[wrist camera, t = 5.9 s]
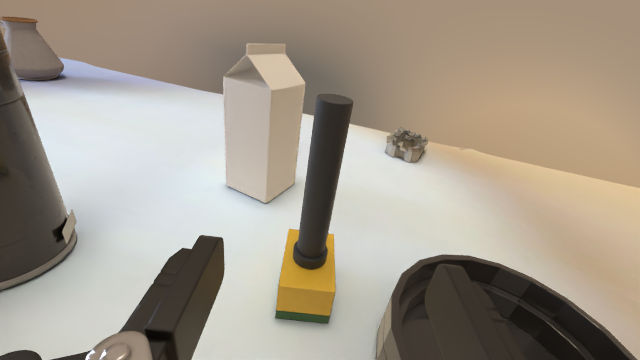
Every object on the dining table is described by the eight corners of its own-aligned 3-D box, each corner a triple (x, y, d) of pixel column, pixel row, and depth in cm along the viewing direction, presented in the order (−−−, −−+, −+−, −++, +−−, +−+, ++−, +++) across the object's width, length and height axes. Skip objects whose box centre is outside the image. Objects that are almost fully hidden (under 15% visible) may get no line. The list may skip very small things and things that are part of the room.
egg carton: (414, 165, 56) (421, 146, 54) (379, 153, 59) (384, 134, 57) (427, 150, 65) (433, 133, 63) (396, 140, 68) (400, 123, 66)
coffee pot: (78, 77, 76) (61, 13, 69) (29, 84, 66) (3, 9, 59) (16, 63, 80) (-7, 0, 72) (-39, 68, 70) (-72, -5, 63)
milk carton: (294, 184, 44) (309, 49, 34) (266, 204, 38) (274, 49, 29) (257, 169, 46) (262, 39, 37) (225, 186, 41) (221, 38, 31)
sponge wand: (327, 323, 24) (377, 119, 16) (275, 318, 24) (295, 108, 15) (327, 262, 30) (363, 91, 22) (285, 258, 30) (304, 83, 22)
